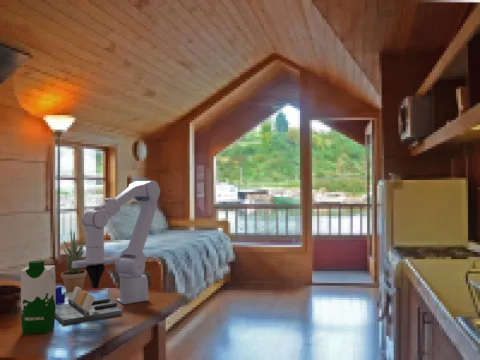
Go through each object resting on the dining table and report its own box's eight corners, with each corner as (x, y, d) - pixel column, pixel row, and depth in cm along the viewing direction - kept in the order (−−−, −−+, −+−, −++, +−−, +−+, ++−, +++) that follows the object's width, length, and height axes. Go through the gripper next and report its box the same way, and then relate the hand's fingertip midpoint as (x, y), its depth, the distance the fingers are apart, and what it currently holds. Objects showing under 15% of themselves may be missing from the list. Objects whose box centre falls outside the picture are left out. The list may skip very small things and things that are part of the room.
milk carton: (17, 335, 129) (17, 263, 129) (27, 326, 138) (27, 258, 138) (51, 334, 130) (50, 262, 131) (58, 324, 139) (58, 257, 140)
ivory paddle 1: (73, 299, 158) (78, 287, 159) (76, 302, 155) (81, 289, 156) (69, 298, 157) (75, 286, 159) (72, 300, 155) (78, 288, 156)
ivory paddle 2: (85, 308, 147) (91, 295, 148) (89, 311, 144) (95, 297, 145) (82, 307, 146) (87, 294, 147) (85, 310, 143) (91, 296, 144)
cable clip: (64, 302, 166) (64, 285, 166) (55, 305, 162) (55, 288, 162) (38, 299, 170) (38, 283, 171) (29, 302, 166) (29, 285, 166)
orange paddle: (79, 304, 152) (84, 291, 153) (82, 306, 149) (88, 293, 150) (75, 303, 152) (81, 290, 153) (78, 305, 149) (84, 292, 150)
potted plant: (69, 287, 190) (69, 227, 190) (91, 288, 188) (90, 227, 188) (55, 293, 180) (54, 229, 180) (77, 294, 178) (77, 229, 178)
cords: (109, 301, 160) (109, 298, 160) (117, 306, 154) (117, 303, 154) (87, 304, 156) (87, 301, 156) (94, 309, 149) (94, 306, 149)
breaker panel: (101, 302, 165) (101, 294, 165) (122, 315, 148) (122, 306, 149) (48, 310, 155) (48, 302, 155) (64, 325, 138) (64, 315, 138)
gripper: (112, 243, 161) (112, 282, 161) (69, 247, 153) (69, 288, 153) (119, 245, 155) (119, 286, 155) (75, 249, 147) (75, 292, 147)
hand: (95, 287), depth 154 cm, fingers closed
